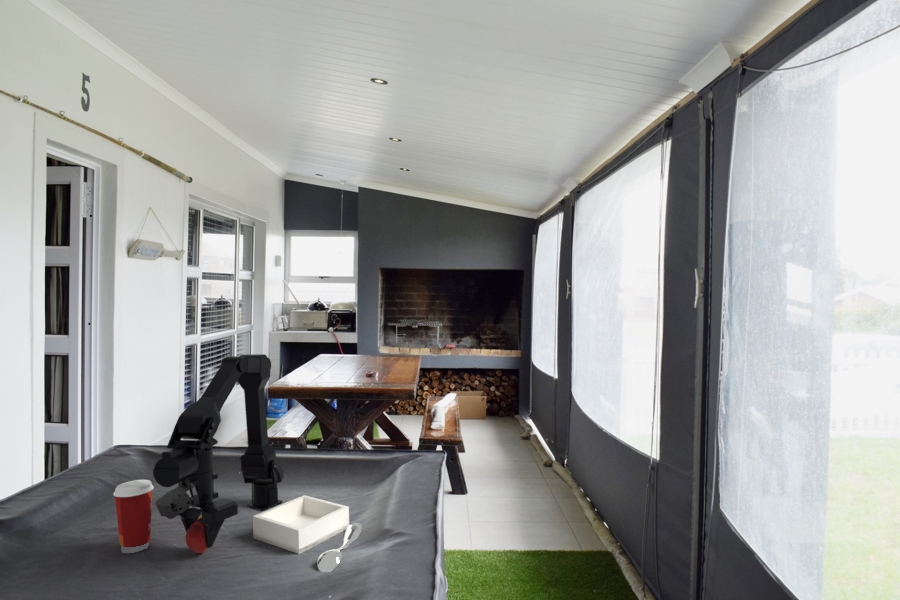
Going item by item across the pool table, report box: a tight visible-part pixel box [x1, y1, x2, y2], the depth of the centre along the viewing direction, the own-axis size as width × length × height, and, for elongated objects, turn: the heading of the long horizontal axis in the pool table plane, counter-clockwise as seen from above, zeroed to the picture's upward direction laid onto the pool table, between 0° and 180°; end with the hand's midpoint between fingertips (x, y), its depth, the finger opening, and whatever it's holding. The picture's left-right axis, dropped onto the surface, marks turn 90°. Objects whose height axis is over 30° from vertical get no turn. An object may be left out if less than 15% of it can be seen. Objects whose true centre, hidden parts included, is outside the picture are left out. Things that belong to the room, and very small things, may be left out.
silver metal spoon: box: [316, 522, 363, 573], centre depth 119 cm, size 20×4×5 cm
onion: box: [185, 516, 209, 554], centre depth 119 cm, size 6×6×8 cm
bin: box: [252, 494, 350, 555], centre depth 128 cm, size 15×15×5 cm
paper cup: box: [112, 479, 155, 547], centre depth 122 cm, size 8×8×14 cm
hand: (200, 544), depth 119 cm, fingers closed on onion, 6 cm apart
